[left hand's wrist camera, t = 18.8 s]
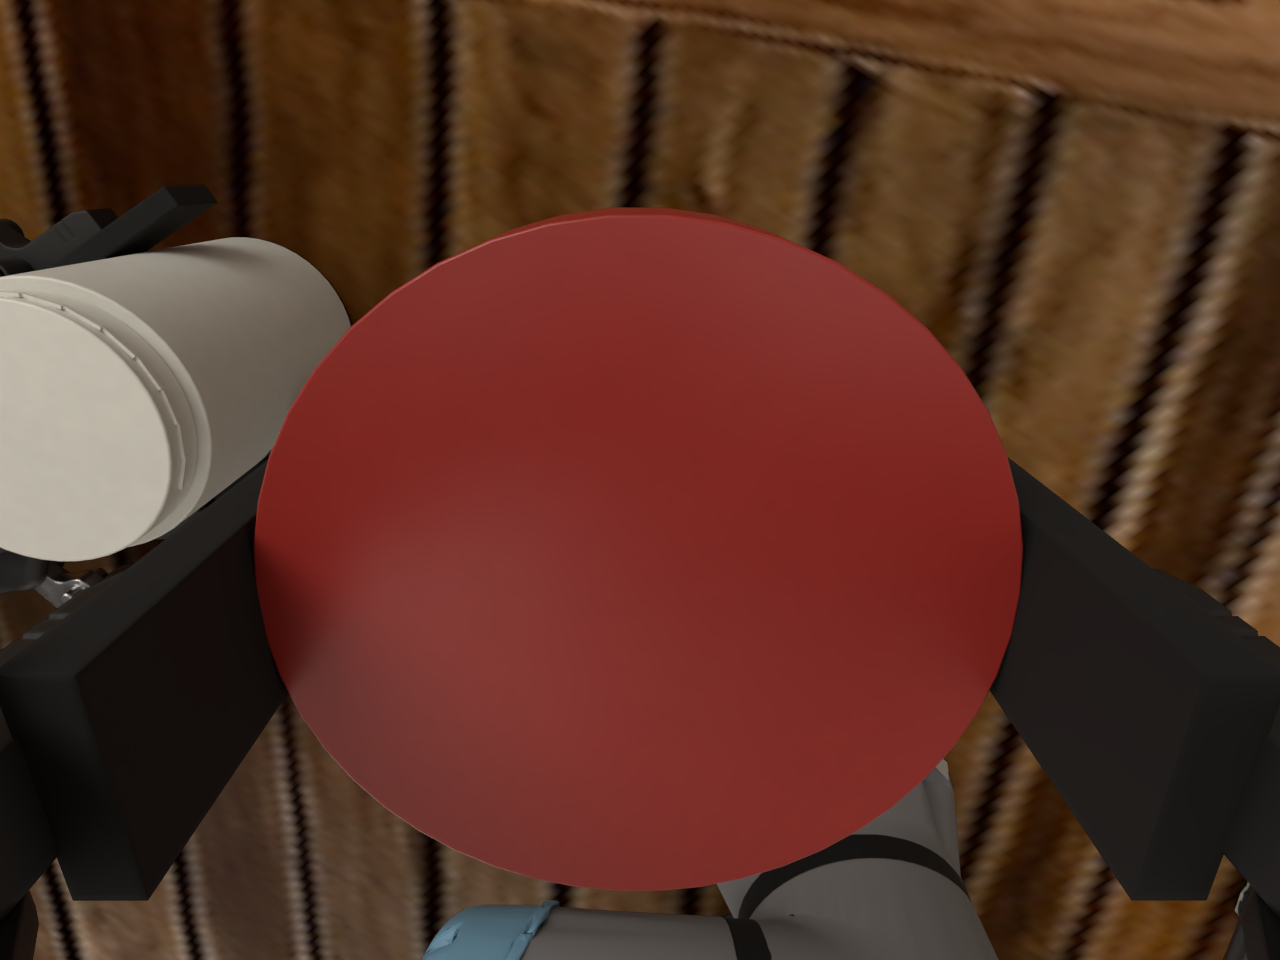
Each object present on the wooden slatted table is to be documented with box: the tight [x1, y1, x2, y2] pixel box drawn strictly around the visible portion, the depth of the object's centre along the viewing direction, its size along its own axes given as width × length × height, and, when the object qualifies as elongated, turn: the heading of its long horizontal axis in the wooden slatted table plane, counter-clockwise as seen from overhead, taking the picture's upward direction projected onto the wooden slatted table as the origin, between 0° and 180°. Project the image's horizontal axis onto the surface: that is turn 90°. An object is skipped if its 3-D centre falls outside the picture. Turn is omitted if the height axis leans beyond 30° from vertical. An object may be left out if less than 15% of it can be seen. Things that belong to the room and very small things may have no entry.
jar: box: [0, 237, 351, 561], centre depth 30 cm, size 9×9×15 cm
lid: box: [254, 208, 1023, 891], centre depth 11 cm, size 10×10×2 cm
